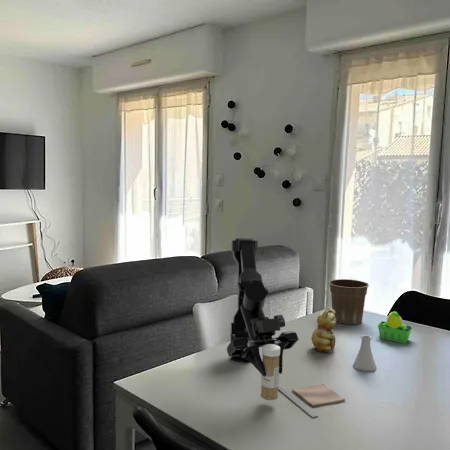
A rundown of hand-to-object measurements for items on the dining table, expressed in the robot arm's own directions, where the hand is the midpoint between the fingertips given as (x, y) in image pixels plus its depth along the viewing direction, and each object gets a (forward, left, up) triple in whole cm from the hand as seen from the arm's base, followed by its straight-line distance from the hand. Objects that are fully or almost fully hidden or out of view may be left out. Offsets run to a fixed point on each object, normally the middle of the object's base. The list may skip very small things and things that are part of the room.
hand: (273, 374), depth 122 cm
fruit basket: (+32, +69, -9) cm, 77 cm away
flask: (+22, +36, -9) cm, 43 cm away
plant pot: (+14, +88, -9) cm, 90 cm away
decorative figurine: (+8, +48, -9) cm, 50 cm away
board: (+10, +10, -9) cm, 17 cm away
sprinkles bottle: (-1, +1, -7) cm, 7 cm away
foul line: (+5, +5, -9) cm, 11 cm away
